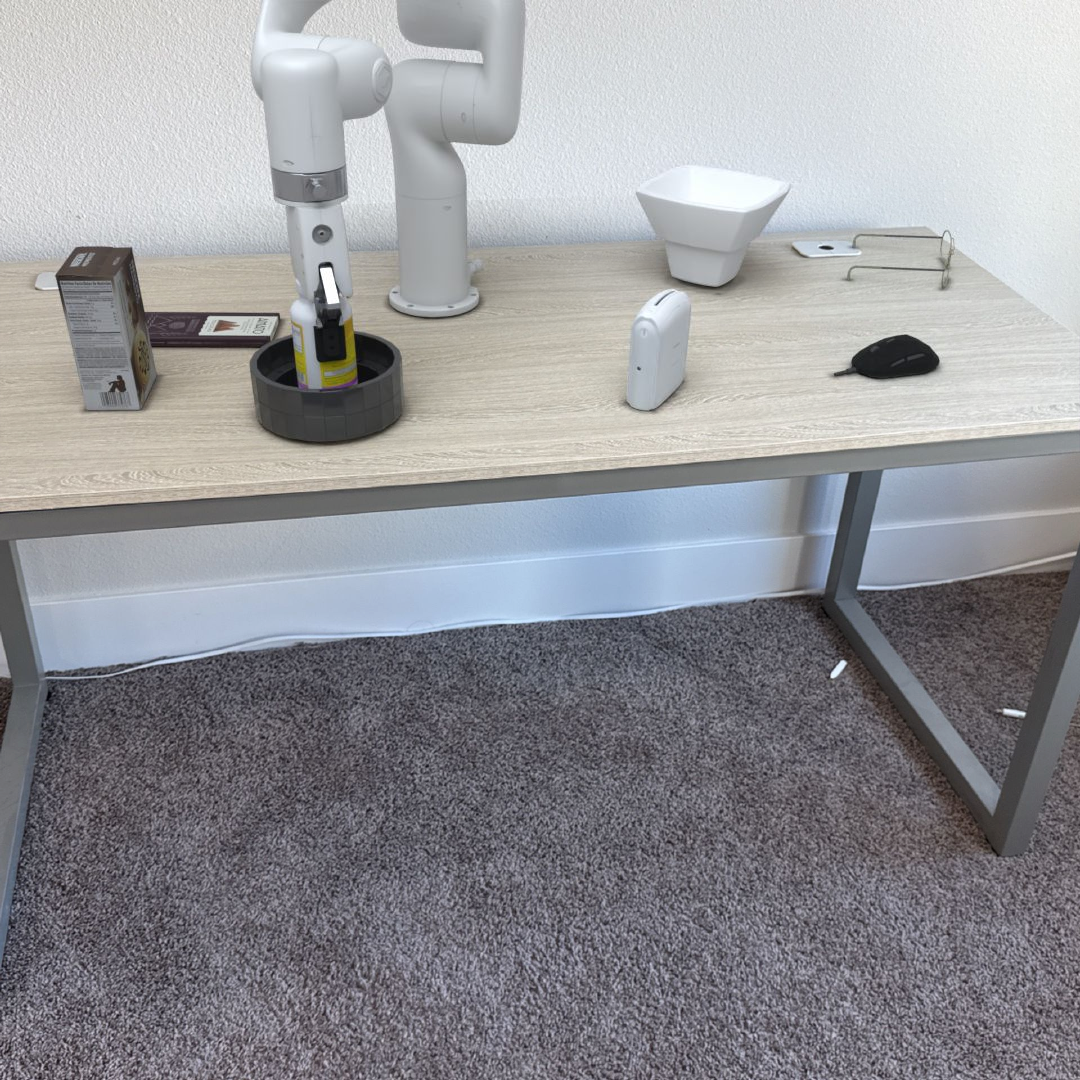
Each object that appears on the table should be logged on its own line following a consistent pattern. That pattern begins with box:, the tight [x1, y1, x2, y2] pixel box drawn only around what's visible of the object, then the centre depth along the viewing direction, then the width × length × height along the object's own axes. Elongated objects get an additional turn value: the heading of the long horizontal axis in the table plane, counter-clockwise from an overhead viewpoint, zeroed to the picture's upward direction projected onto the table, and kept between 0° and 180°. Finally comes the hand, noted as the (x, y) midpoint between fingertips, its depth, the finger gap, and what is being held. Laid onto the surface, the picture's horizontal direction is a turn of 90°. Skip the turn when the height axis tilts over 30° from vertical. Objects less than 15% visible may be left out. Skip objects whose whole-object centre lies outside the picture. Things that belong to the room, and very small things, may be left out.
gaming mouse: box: [833, 333, 941, 379], centre depth 137 cm, size 6×15×4 cm, turn 110°
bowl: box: [635, 163, 792, 288], centre depth 159 cm, size 19×19×14 cm
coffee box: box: [54, 245, 158, 411], centre depth 123 cm, size 9×6×16 cm
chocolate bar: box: [145, 311, 281, 348], centre depth 142 cm, size 9×1×18 cm
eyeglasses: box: [846, 229, 955, 288], centre depth 168 cm, size 16×15×5 cm
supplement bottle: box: [289, 276, 358, 389], centre depth 120 cm, size 7×7×13 cm
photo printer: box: [625, 288, 692, 412], centre depth 127 cm, size 10×4×12 cm, turn 151°
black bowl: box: [249, 330, 405, 443], centre depth 123 cm, size 17×17×6 cm
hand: (324, 345), depth 120 cm, fingers closed on supplement bottle, 6 cm apart
